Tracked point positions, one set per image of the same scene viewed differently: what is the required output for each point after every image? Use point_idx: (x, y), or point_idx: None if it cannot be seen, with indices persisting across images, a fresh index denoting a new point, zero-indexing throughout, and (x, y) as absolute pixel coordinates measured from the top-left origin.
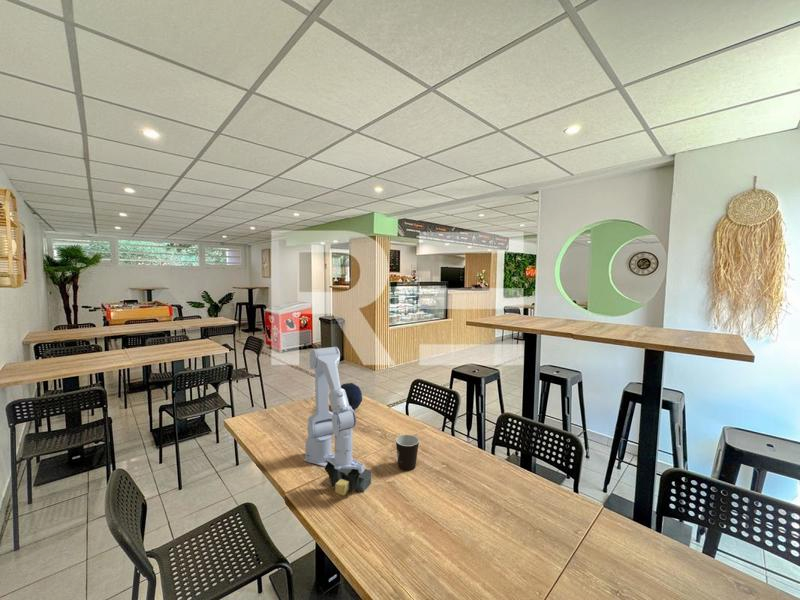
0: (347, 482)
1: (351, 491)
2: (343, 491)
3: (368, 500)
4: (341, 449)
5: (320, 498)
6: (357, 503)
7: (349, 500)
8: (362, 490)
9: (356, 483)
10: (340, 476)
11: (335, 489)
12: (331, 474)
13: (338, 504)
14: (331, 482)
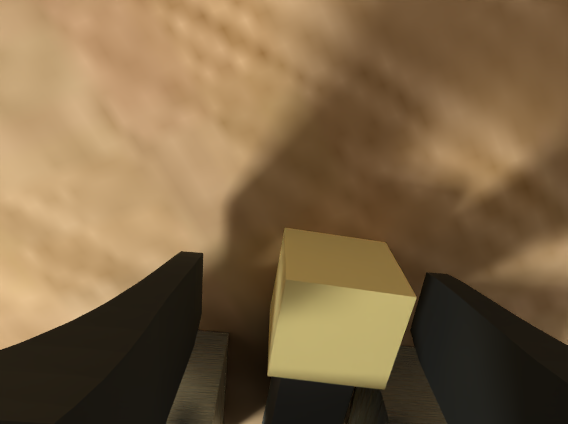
0: (275, 356)
1: (173, 257)
2: (285, 248)
3: (8, 240)
4: None
5: (510, 106)
6: (81, 167)
7: (185, 181)
8: None
9: (190, 379)
10: (407, 415)
11: (393, 257)
12: (559, 382)
13: (266, 83)
14: (477, 297)
